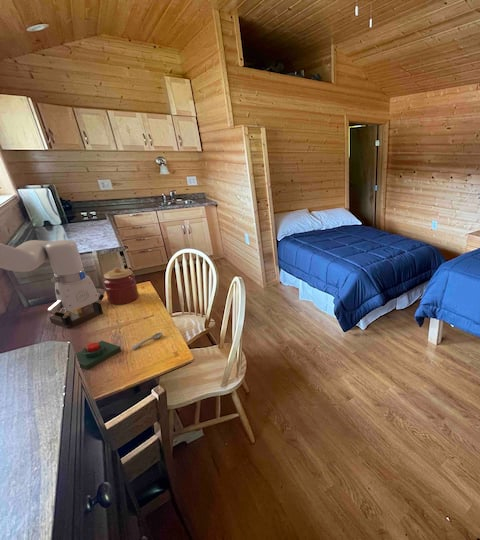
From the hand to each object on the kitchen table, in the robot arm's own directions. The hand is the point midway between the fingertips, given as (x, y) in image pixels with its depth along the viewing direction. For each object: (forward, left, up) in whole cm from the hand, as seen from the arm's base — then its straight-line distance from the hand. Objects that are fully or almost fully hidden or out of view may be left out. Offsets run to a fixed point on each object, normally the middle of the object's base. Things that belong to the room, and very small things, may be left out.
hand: (84, 318), depth 109 cm
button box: (-1, -1, -17) cm, 17 cm away
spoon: (+13, -10, -17) cm, 24 cm away
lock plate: (+14, +33, -17) cm, 40 cm away
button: (-1, -1, -13) cm, 13 cm away
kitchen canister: (+35, +33, -17) cm, 51 cm away
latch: (+14, +33, -13) cm, 39 cm away
